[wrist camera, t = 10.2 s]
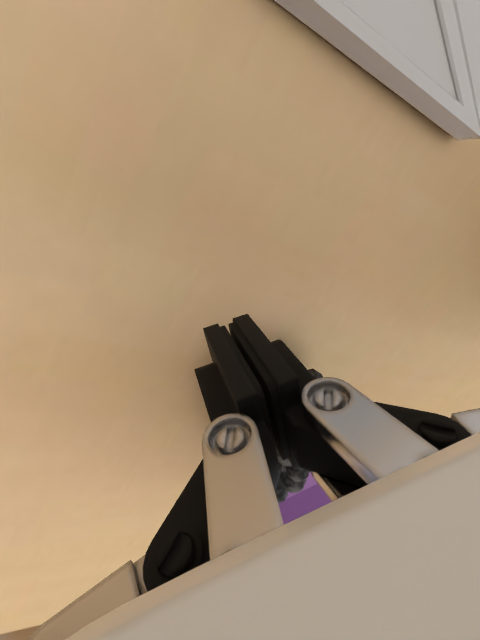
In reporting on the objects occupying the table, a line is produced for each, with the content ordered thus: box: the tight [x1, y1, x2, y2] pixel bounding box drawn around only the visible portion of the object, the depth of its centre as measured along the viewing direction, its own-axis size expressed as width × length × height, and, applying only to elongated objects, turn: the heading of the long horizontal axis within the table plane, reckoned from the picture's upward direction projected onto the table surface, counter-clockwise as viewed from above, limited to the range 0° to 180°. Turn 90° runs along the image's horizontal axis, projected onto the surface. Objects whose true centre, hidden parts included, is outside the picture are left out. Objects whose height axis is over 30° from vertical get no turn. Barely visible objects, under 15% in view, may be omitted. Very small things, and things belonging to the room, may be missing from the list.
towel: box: [278, 472, 332, 525], centre depth 35 cm, size 20×12×1 cm, turn 102°
